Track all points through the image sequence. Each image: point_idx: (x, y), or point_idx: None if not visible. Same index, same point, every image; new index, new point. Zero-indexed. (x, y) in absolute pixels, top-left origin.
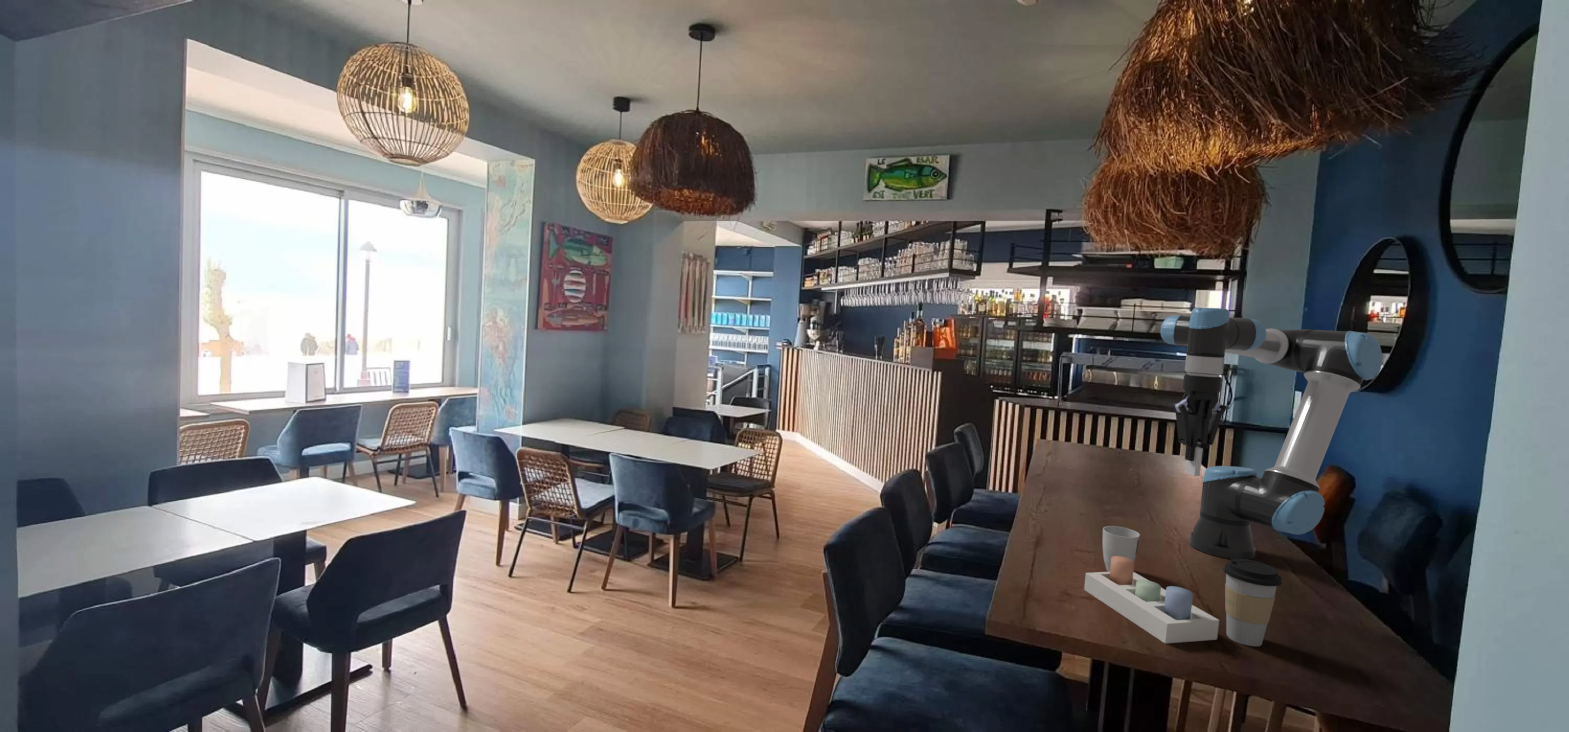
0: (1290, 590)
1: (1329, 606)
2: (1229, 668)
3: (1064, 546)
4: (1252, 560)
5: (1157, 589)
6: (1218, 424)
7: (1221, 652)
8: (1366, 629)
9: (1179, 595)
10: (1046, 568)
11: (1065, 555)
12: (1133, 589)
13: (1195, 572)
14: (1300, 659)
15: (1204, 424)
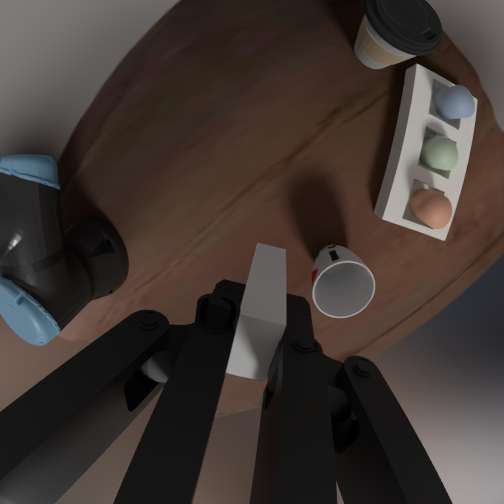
0: (136, 120)
1: (142, 72)
2: (444, 44)
3: None
4: (386, 20)
5: (447, 138)
6: (15, 408)
7: (426, 57)
8: (175, 19)
9: (472, 96)
10: (412, 298)
11: (348, 322)
12: (437, 174)
13: (211, 210)
14: (352, 6)
15: (192, 496)
